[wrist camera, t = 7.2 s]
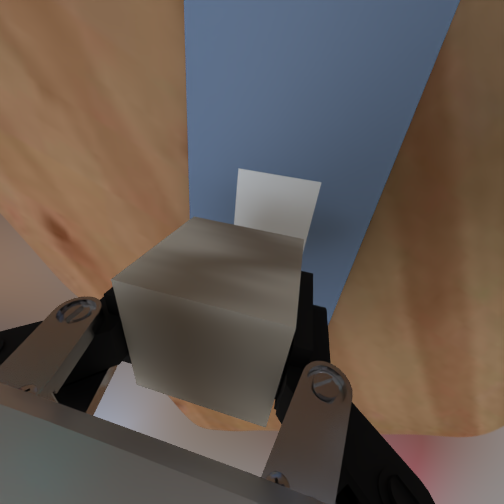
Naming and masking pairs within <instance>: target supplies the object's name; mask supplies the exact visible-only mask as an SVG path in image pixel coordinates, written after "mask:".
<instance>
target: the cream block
mask: <svg viewBox="0 0 504 504" xmlns="http://www.w3.org/2000/svg"><path fill="white" fill-rule="evenodd" d="M303 244H304V239H301V238H296V237H291V236H287V235H282V234H277V233H272V232H267V231H262V230H257V229H252V228H248V227H243V226H238V225H233V224H228V223H223V222H218V221H213V220H209V219H204V218H199V217H193V218H191V219H190V220H189V221H187V222H186V223H185V224H183V225H182V226H181V227H180V228H178V229H177V230H176V231H174V232H173V233H172V234H170V235H169V236H168V237H166V238H165V239H164V240H162V241H161V242H160V243H158V244H157V245H156V246H154V247H153V248H152V249H151V250H149V251H148V252H147V253H145V254H144V255H143V256H141V257H140V258H139V259H137V260H136V261H135V262H133V263H132V264H131V265H129V266H128V267H127V268H125V269H124V270H123V271H122V272H120V273H119V274H118V275H116V276H115V277H114V278H112V279H111V281H112V285H113V289H114V293H115V297H116V301H117V305H118V309H119V314H120V318H121V322H122V326H123V330H124V334H125V338H126V342H127V346H128V350H129V355H130V359H131V363H132V367H133V371H134V375H135V379H136V383H137V385H139V386H142V387H145V388H148V389H152V390H155V391H157V392H161V393H163V394H166V395H169V396H173V397H176V398H179V399H182V400H185V401H188V402H191V403H194V404H197V405H200V406H203V407H206V408H209V409H212V410H215V411H218V412H221V413H224V414H227V415H230V416H233V417H236V418H239V419H242V420H245V421H248V422H251V423H254V424H257V425H260V426H263V427H266V425H267V421H268V418H269V415H270V412H271V408H272V405H273V402H274V398H275V395H276V392H277V389H278V385H279V382H280V379H281V375H282V372H283V369H284V366H285V362H286V359H287V356H288V352H289V349H290V346H291V343H292V339H293V336H294V333H295V329H296V322H297V311H298V300H299V289H300V278H301V266H302V255H303Z"/></svg>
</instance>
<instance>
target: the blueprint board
mask: <svg viewBox="0 0 504 504" xmlns="http://www.w3.org/2000/svg"><path fill="white" fill-rule="evenodd" d="M459 2H460V0H184V18H185V54H186V91H187V128H188V164H189V201H190V219H191V218H193V217H199V218H204V219H209V220H213V221H218V222H223V223H228V224H233V225H238V226H243V227H248V228H252V229H257V230H262V231H267V232H272V233H277V234H282V235H287V236H291V237H296V238H301V239H304V244H303V255H302V266H301V271H305V272H309V273H313V305H317V306H321V307H325V308H326V310H327V321H328V324H329V322H330V319H331V317H332V314H333V312H334V309H335V307H336V304H337V302H338V299H339V297H340V295H341V292H342V290H343V287H344V285H345V282H346V280H347V277H348V275H349V272H350V270H351V267H352V265H353V263H354V260H355V258H356V255H357V253H358V250H359V248H360V245H361V243H362V240H363V238H364V235H365V233H366V231H367V228H368V226H369V223H370V221H371V218H372V216H373V213H374V211H375V208H376V206H377V204H378V201H379V199H380V196H381V194H382V191H383V189H384V186H385V184H386V181H387V179H388V176H389V174H390V172H391V169H392V167H393V164H394V162H395V159H396V157H397V154H398V152H399V149H400V147H401V144H402V142H403V140H404V137H405V135H406V132H407V130H408V127H409V125H410V122H411V120H412V117H413V115H414V112H415V110H416V108H417V105H418V103H419V100H420V98H421V95H422V93H423V90H424V88H425V85H426V83H427V80H428V78H429V76H430V73H431V71H432V68H433V66H434V63H435V61H436V58H437V56H438V53H439V51H440V48H441V46H442V44H443V41H444V39H445V36H446V34H447V31H448V29H449V26H450V24H451V21H452V19H453V17H454V14H455V12H456V9H457V7H458V4H459Z"/></svg>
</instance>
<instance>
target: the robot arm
mask: <svg viewBox="0 0 504 504" xmlns="http://www.w3.org/2000/svg"><path fill="white" fill-rule="evenodd" d="M122 361H125V362H127V363H131V359H130V355H129V350H128V346H127V342H126V338H125V334H124V330H123V326H122V322H121V318H120V314H119V309H118V305H117V301H116V297H115V293H114V289H113V287H112V288H111V289H110V290H108V291H107V292H106V293H105V294H104V297H103V298H102V299H100V300H99V299H97V298H95V297H78V298H74V299H71V300H69V301H66V302H64V303H63V304H61V305H59V306H58V307H57V308H56V309H55V310H53V311H52V312H51V314H50V315H49V316H48V317H47V318H46V319H45V320H44V321H40V322H36V323H32V324H28V325H24V326H20V327H16V328H12V329H8V330H5V331H1V332H0V504H435V503H434V501H433V499H432V497H431V495H430V493H429V491H428V490H427V489H426V487H425V486H424V484H423V483H422V482H421V480H420V479H419V478H418V477H417V476H416V475H415V474H414V472H413V471H412V470H411V469H410V468H409V467H408V465H407V464H406V463H405V462H404V461H403V460H402V459H401V457H400V456H399V455H398V454H397V453H396V452H395V451H394V449H393V448H392V447H391V446H390V445H389V444H388V443H387V442H386V440H385V439H384V438H383V437H382V436H381V435H380V434H379V432H378V431H377V430H376V429H375V428H374V427H373V426H372V424H371V423H370V422H369V421H368V420H367V419H366V418H365V416H364V415H363V414H362V413H361V412H360V411H359V410H358V408H357V407H356V406H355V405H354V404H353V403H352V388H351V385H350V382H349V380H348V379H347V377H346V375H345V374H344V373H343V372H342V371H341V370H340V369H339V368H337V367H336V366H334V365H333V364H330V350H329V335H328V321H327V310H326V308H325V307H321V306H317V305H313V273H309V272H305V271H301V278H300V289H299V300H298V311H297V322H296V329H295V333H294V336H293V339H292V343H291V346H290V349H289V352H288V356H287V359H286V362H285V366H284V369H283V372H282V375H281V379H280V382H279V385H278V389H277V392H276V395H275V398H274V399H275V406H274V409H276V416H277V417H278V419H279V421H280V422H281V424H282V425H281V428H280V430H279V433H278V436H277V438H276V441H275V443H274V446H273V448H272V451H271V453H270V456H269V459H268V461H267V463H266V466H265V469H264V471H263V474H262V477H258V476H256V475H253V474H251V473H248V472H245V471H242V470H240V469H237V468H234V467H232V466H229V465H226V464H223V463H220V462H218V461H215V460H213V459H210V458H207V457H205V456H202V455H199V454H196V453H194V452H191V451H188V450H186V449H183V448H180V447H177V446H175V445H172V444H169V443H167V442H164V441H161V440H158V439H156V438H153V437H150V436H147V435H144V434H141V433H139V432H136V431H133V430H130V429H128V428H125V427H123V426H120V425H117V424H114V423H111V422H109V421H106V420H103V419H101V418H98V417H95V416H93V414H94V412H95V411H96V409H97V406H98V404H99V402H100V400H101V398H102V396H103V394H104V392H105V390H106V388H107V386H108V384H109V382H110V380H111V378H112V376H113V374H114V372H115V370H116V367H117V365H119V364H120V363H121V362H122ZM131 364H132V363H131Z"/></svg>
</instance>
